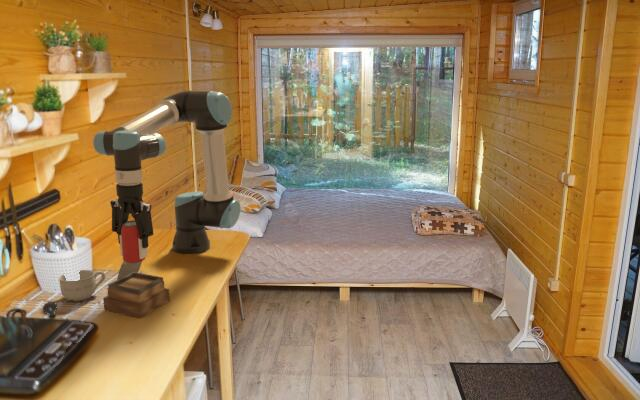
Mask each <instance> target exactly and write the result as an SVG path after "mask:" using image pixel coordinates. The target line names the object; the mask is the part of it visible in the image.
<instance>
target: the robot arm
mask: <svg viewBox="0 0 640 400" xmlns="http://www.w3.org/2000/svg"><path fill="white" fill-rule="evenodd" d="M232 115H233V109H232V104H231V101H230V99H229V97H228V96H227V95H225V93H223V92H219V91H212V90H211V91H210V90H208V91H207V90H206V91H205V90H183V91H179V92H176V93H174V94H171V95H169V96H167V97H165V98H163V99H161V100H159V101H158V102H157V104H156V106H155V107H152V108H151V109H149V110H148V111H146V112H143V113H142V114H140V115H138V116H136V117H134V118H133V119H130V120H129V121H127V122H126V123H123V124H122V125H120V126H118V127H116V128H114V129H113V130H110V131H108V130H103V131H98V132H97V133H96V134H95V135H94V137H93V141H92V142H93V143H92V144H93V148H94V151H96V153H97V154H100V155H106V156H113V157H114V160H113V161H114V172H115V182H116V183H117V184H115V188H116V196H117V197H118V198H116V199H113V200H110V207H111V231H112V232H113V233H116V234H117V237H118V238H117V241H118V244H119V246H120V247H119V249H120V250H119V251H120V256H122V257H123V252H122V238H121V229H122V226H123V225H122V224H123V223H124V222H127V221H129V218H130V217H129V216H130V214H131V217H132V218H134V221H135V222H136V225H137V228H138V231H139V234H140V238H138V242H139V257H140V259H143V258H145V259H146V258H147V257H148V247H149V237H152V236H153V235H154V227H153V218H152V212H151V211H152V204H151V203H145V202H144V200H143V194H144V187H143V183H142V182H143V172H142V170H143V168H142V161H143V160H144V161H145V160H148V159H153V158H154V159H155V158H157V157H159V156H162V155H163V154H164V153H165V151H166V148H167V143H166V139H165V138H164V136H163V135H161V134H160V133H157V132H158V131H160V130H161V129H164V128H165V127H167V126H172V125H175V124H177V123H194V126H195V130H196V131H197V132H198V133H199V135H200V142H201V143H200V144H201V150H202V152H201V153H202V161H203V169H204V177H205V188H206V192H204V191H190V192H184V193H181V194H178V195H176V197H175V198H174V205H173V206H174V213H175V216H174V217H175V234H174V236H173V240H172V244H171V245H172V251H174V252H175V253H179V254H187V255H188V254H198V253H203V252H206V251H208V250H209V249H210V248H211V242H210V239H209V235H208V233H207V231H206V227H211V228H212V227H213V228H217V229H218V228H219V229H232V228H234V226H235V225H236V224H237V222H238V221H239V218H240V213H241V203H240V201H239V200H237V199H236V198H235V197H234V192H232V191H231V190H230V188H229V185H230V184H229V176H228V166H227V155H226V146H225V145H226V144H225V135H224V131H225V130H226V129H227V128H228V124H229V123H230V121H231V120H232Z"/></svg>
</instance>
